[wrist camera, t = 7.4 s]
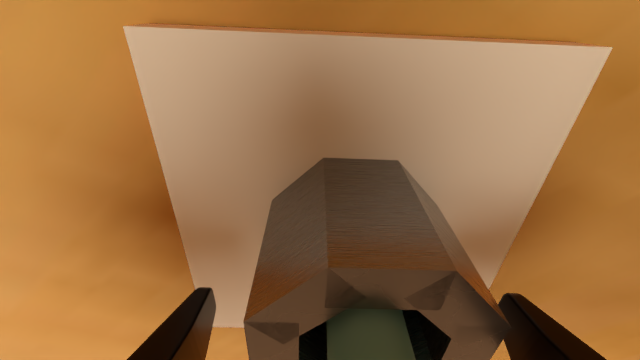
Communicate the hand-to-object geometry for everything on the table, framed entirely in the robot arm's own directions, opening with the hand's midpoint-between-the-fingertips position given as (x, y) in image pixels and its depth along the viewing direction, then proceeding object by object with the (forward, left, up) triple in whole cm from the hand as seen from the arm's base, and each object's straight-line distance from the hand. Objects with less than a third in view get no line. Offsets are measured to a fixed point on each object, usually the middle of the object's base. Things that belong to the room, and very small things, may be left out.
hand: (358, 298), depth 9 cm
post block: (0, 0, -5) cm, 5 cm away
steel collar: (0, 0, -3) cm, 3 cm away
